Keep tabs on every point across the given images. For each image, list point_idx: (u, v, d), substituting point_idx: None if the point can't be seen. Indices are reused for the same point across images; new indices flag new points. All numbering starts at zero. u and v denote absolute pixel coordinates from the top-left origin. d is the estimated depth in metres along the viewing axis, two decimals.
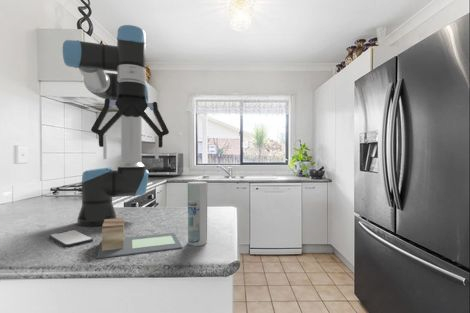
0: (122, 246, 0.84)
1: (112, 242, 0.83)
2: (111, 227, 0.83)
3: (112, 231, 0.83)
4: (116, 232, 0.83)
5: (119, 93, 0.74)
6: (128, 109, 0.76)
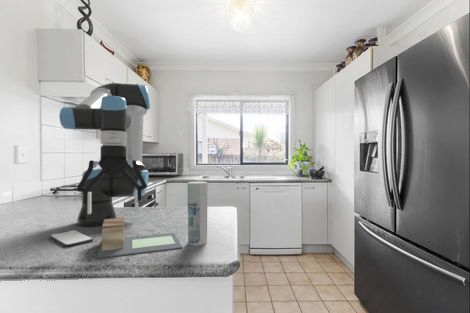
0: (122, 246, 0.84)
1: (112, 242, 0.83)
2: (111, 227, 0.83)
3: (112, 231, 0.83)
4: (116, 232, 0.83)
5: (102, 155, 0.85)
6: (110, 168, 0.86)
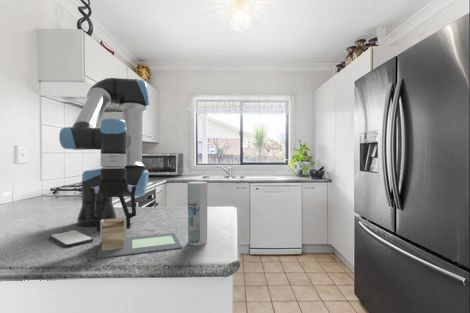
0: (122, 246, 0.84)
1: (112, 242, 0.83)
2: (111, 227, 0.83)
3: (112, 231, 0.83)
4: (116, 232, 0.83)
5: (102, 179, 0.85)
6: (111, 190, 0.86)
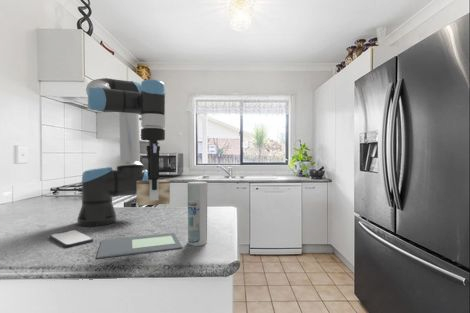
0: (137, 203, 0.86)
1: None
2: None
3: None
4: None
5: None
6: None
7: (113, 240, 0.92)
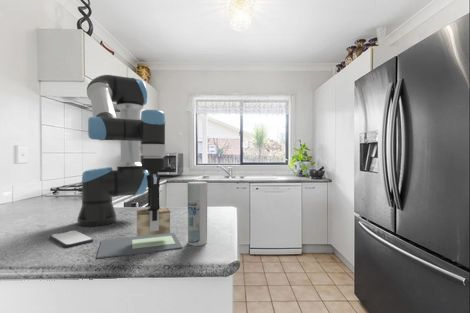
0: (137, 234, 0.86)
1: None
2: None
3: None
4: None
5: None
6: None
7: (113, 240, 0.92)
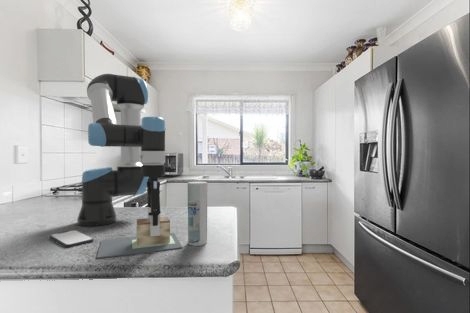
0: (137, 244, 0.86)
1: None
2: None
3: None
4: None
5: None
6: None
7: (113, 240, 0.92)
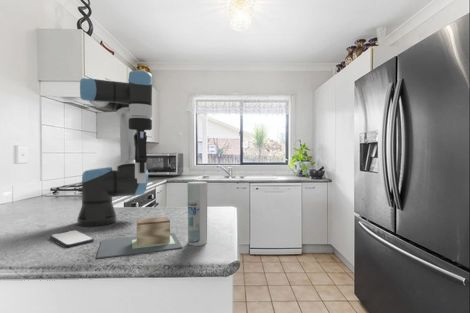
0: (137, 244, 0.86)
1: None
2: None
3: None
4: None
5: None
6: None
7: (113, 240, 0.92)
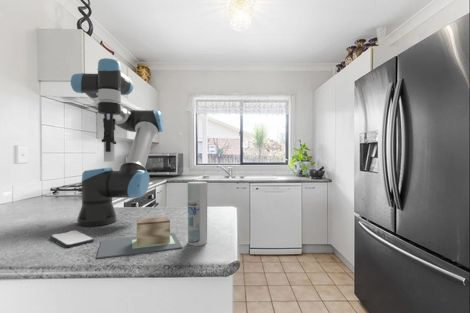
0: (137, 244, 0.86)
1: None
2: None
3: None
4: None
5: None
6: None
7: (113, 240, 0.92)
